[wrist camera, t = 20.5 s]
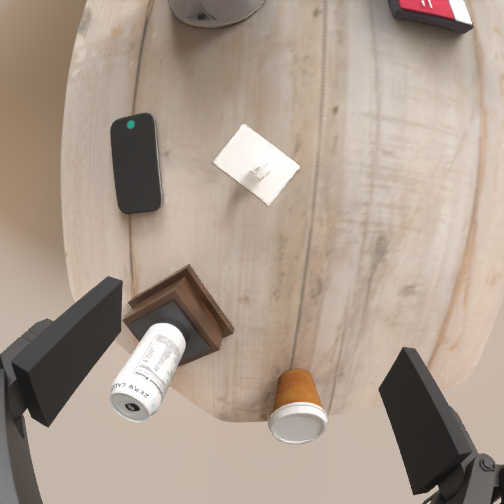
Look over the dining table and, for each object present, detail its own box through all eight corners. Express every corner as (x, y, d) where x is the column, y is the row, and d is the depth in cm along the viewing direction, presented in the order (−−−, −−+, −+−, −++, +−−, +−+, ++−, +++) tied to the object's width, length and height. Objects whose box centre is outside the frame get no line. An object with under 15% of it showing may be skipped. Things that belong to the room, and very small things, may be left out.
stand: (131, 298, 48) (112, 318, 41) (189, 264, 45) (175, 282, 39) (175, 354, 51) (163, 380, 44) (234, 328, 48) (228, 354, 41)
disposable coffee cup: (296, 353, 49) (301, 401, 38) (331, 379, 50) (341, 426, 39) (259, 381, 52) (255, 430, 40) (294, 405, 53) (296, 451, 42)
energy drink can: (142, 325, 41) (95, 390, 27) (175, 315, 40) (134, 385, 26) (161, 356, 43) (125, 426, 28) (194, 348, 42) (164, 424, 27)
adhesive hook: (262, 183, 41) (261, 185, 38) (247, 172, 41) (245, 173, 38) (275, 166, 40) (276, 167, 37) (261, 155, 40) (260, 155, 37)
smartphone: (153, 110, 38) (162, 210, 42) (155, 111, 39) (164, 209, 43) (109, 121, 38) (118, 215, 43) (111, 121, 39) (121, 214, 44)
